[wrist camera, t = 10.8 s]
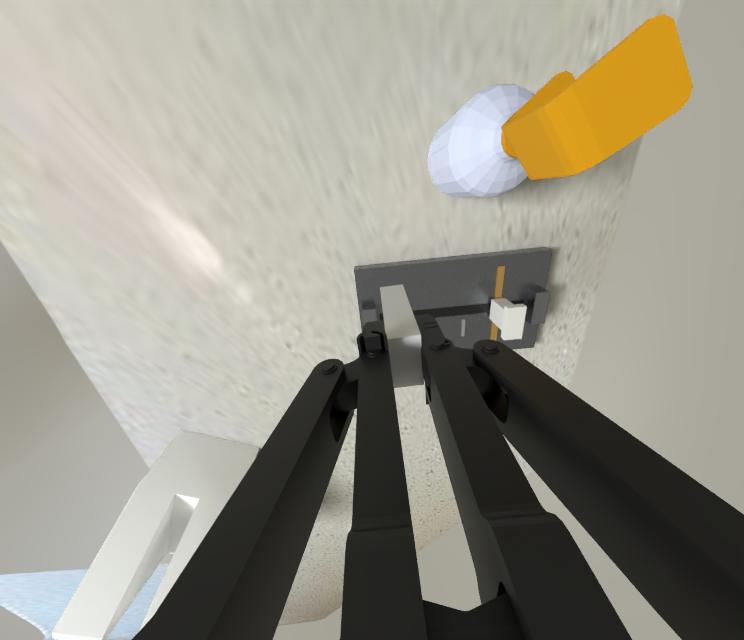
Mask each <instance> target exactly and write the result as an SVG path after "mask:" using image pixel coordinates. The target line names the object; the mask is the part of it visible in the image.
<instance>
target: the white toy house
mask: <svg viewBox="0 0 744 640" xmlns="http://www.w3.org/2000/svg"><path fill="white" fill-rule="evenodd" d="M258 451H259V448H258V447H254V446H250V445H245V444H241V443H237V442H233V441H229V440H225V439H220V438H216V437H212V436H208V435H204V434H200V433H195V432H191V431H187V430H183V429H182V430H181V431H180V432H179V433H178V435H177V436H176V437H175V438H174V440H173V441H172V442H171V444H170V445H169V446H168V447H167V449H166V450H165V451H164V452H163V454H162V455H161V456H160V457H159V459H158V460H157V461H156V462H155V464H154V465H153V466H152V468H151V469H150V470H149V471H148V473H147V474H146V475H145V476H144V478H143V479H142V481H140V483H139V484H138V485H137V487H136V489H135V490H134V492H133V494H132V495H131V497H130V499H129V501H128V502H127V504H126V506H125V507H124V509H123V511H122V513H121V514H120V516H119V518H118V520H117V521H116V523H115V525H114V527H113V528H112V530H111V532H110V533H109V535H108V537H107V538H106V540H105V542H104V544H103V545H102V547H101V549H100V551H99V552H98V554H97V556H96V557H95V559H94V561H93V563H92V564H91V566H90V568H89V569H88V571H87V573H86V575H85V576H84V578H83V580H82V581H81V583H80V585H79V587H78V588H77V590H76V592H75V594H74V595H73V597H72V599H71V600H70V602H69V604H68V606H67V607H66V609H65V611H64V613H63V614H62V616H61V618H60V619H59V621H58V623H57V625H56V626H55V628H54V630H53V632H52V637H53V639H59V640H106V638H107V637H108V635H109V634H110V633H111V631H112V630H113V628H114V627H115V625H116V624H117V623H118V621H119V620H120V618H121V617H122V616H123V614H124V613H125V611H126V610H127V609H128V607H129V606H130V604H131V603H132V602H133V600H134V599H135V597H136V596H137V594H138V593H139V592H140V590H141V589H142V587H143V586H144V585H145V583H146V582H147V580H148V579H149V578H150V576H151V575H152V573H153V572H154V571H155V569H156V568H157V566H158V565H159V564H160V562H161V561H162V559H163V558H164V556H165V555H166V554H167V553H170V554H174V556H173V558H172V560H171V562H170V564H169V566H168V569H167V571H166V573H165V575H164V577H163V580H162V582H161V584H160V586H159V588H158V591H157V593H156V595H155V597H154V599H153V601H152V604H151V606H150V608H149V610H148V612H147V615H146V617H145V619H144V621H143V623H142V626H141V628H140V630H141V629H142V628H143V627H144V626H145V625H146V623H147V622H148V621H149V620H150V619H151V618H152V617H153V616H154V614H155V613H156V611H157V609H158V608H159V606H160V605H161V603H162V602H163V600H164V599H165V597H166V596H167V594H168V593H169V591H170V589H171V588H172V586H173V585H174V583H175V582H176V580H177V579H178V577H179V576H180V574H181V573H182V571H183V569H184V568H185V566H186V565H187V563H188V562H189V560H190V559H191V557H192V556H193V554H194V552H195V551H196V549H197V548H198V546H199V545H200V543H201V542H202V540H203V539H204V537H205V536H206V534H207V532H208V531H209V529H210V528H211V526H212V525H213V523H214V522H215V520H216V519H217V517H218V516H219V514H220V512H221V511H222V509H223V508H224V506H225V505H226V503H227V502H228V500H229V499H230V497H231V496H232V494H233V492H234V491H235V489H236V488H237V486H238V485H239V483H240V482H241V480H242V479H243V477H244V476H245V474H246V472H247V471H248V469H249V468H250V466H251V465H252V463H253V462H254V460H255V459H256V457H257V454H258ZM140 630H139V631H140Z"/></svg>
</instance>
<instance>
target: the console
mask: <svg viewBox="0 0 744 640" xmlns="http://www.w3.org/2000/svg"><path fill="white" fill-rule="evenodd" d="M551 255H552V249H548V248H545V247H540V248H531V249H521V250H511V251H501V252H491V253H481V254H472V255H462V256H452V257H442V258H432V259H423V260H413V261H403V262H393V263H383V264H373V265H364V266H355V267H354V273H355V281H356V289H357V296H358V304H359V312H360V320H361V328H362V331H363V326H364V325H365V324H366V322H373V321H381V320H384V317H383V309H382V301H381V293H380V287H386V286H394V285H401V284H403V287H404V289H405V292H406V295H407V298H408V300H409V303H410V306H411V309H412V311H413V314H414V316H415V315H423V314H430V315H432V316H433V317H435V319H436V321H437V323H438V325H439V327H440V329H441V331H442V333H443V334H444V336H445V338H447V339H449V340H451V341H452V342H453V344H454V346H455V347H459V348H466V349H473V345H474V344H475V342H477V341H480V340H486V339H490V340H495V341H499V342H501V343H503V344H505V345H506V346H507V347H509V348H510V349H522V348H533V347H534V344H535V339H536V334H537V328H538V324H541V323H544V322H545V317H546V312H547V307H548V302H549V297H550V291H548V290H546V289H545V286H546V281H547V276H548V270H549V265H550V260H551ZM499 298H506V299H507V300H508V301H510V302H511V303H512V304H524V305H526V306H527V309H526V315H525V321H524V327H523V334H522V339H514V340H503V339H502V338H501V330H500V329H499V328H498V327H497V326H496V325H495V324H494V323H493V322H492V321H491V320H490V319H489V318H490V308H491V299H499Z"/></svg>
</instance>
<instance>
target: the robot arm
mask: <svg viewBox="0 0 744 640" xmlns="http://www.w3.org/2000/svg"><path fill="white" fill-rule="evenodd" d="M380 293H381V301H382V309H383V317H384V320H381V321H373V322H366V324H365V325H364V326H363V331H362V333H361V334H359V335H358V337H357V344H358V350H359V358H358V359H356V360H355V361H353V362H350V363H348V364H345V365H344V364H343V362H342V361H340V360H338V359H328V360H325V361H322V362H321V363H319V364H318V365H317V366H316V367H315V368H314V369H313V371H312V372H311V374H310V375H309V377H308V379H307V380H306V382H305V383H304V385H303V386H302V388H301V389H300V391H299V392H298V394H297V395H296V397H295V399H294V400H293V402H292V403H291V405H290V406H289V408H288V409H287V411H286V412H285V414H284V416H283V417H282V419H281V420H280V422H279V423H278V425H277V426H276V428H275V429H274V431H273V432H272V434H271V436H270V437H269V439H268V440H267V442H266V443H265V445H264V446H263V448H262V449H261V451H260V452H259V454H258V456H257V457H256V459H255V460H254V462H253V463H252V465H251V466H250V468H249V469H248V471H247V472H246V474H245V476H244V477H243V479H242V480H241V482H240V483H239V485H238V486H237V488H236V489H235V491H234V492H233V494H232V496H231V497H230V499H229V500H228V502H227V503H226V505H225V506H224V508H223V509H222V511H221V512H220V514H219V516H218V517H217V519H216V520H215V522H214V523H213V525H212V526H211V528H210V529H209V531H208V532H207V534H206V536H205V537H204V539H203V540H202V542H201V543H200V545H199V546H198V548H197V549H196V551H195V552H194V554H193V556H192V557H191V559H190V560H189V562H188V563H187V565H186V566H185V568H184V569H183V571H182V573H181V574H180V576H179V577H178V579H177V580H176V582H175V583H174V585H173V586H172V588H171V589H170V591H169V593H168V594H167V596H166V597H165V599H164V600H163V602H162V603H161V605H160V606H159V608H158V609H157V611H156V613H155V614H154V616H153V617H152V618H151V619H150V620H149V621H148V622H147V623H146V625H145V626H144V627H143V628H142V629H141V630H140V631H139V632H138V633H137V635H136V636H135V637H134V638H133V639H132V640H273V637H274V634H275V631H276V628H277V626H278V623H279V620H280V617H281V615H282V612H283V609H284V606H285V603H286V601H287V598H288V595H289V592H290V590H291V587H292V584H293V581H294V578H295V576H296V573H297V570H298V567H299V564H300V562H301V559H302V556H303V553H304V551H305V548H306V545H307V542H308V539H309V537H310V534H311V531H312V528H313V526H314V523H315V520H316V517H317V514H318V512H319V509H320V506H321V503H322V500H323V498H324V495H325V492H326V489H327V487H328V484H329V481H330V478H331V475H332V473H333V470H334V467H335V464H336V462H337V459H338V456H339V453H340V450H341V448H342V445H343V442H344V439H345V437H346V434H347V431H348V428H349V425H350V423H351V420H352V417H353V414H354V409H356V408H357V423H356V446H355V469H354V493H353V516H352V527H351V530H350V532H349V533H348V536H347V541H346V551H345V568H344V585H343V602H342V619H341V636H340V637H341V638H340V640H632V639H631V637H630V635H629V634H628V632H627V630H626V628H625V627H624V625H623V623H622V621H621V620H620V618H619V616H618V615H617V613H616V611H615V609H614V608H613V606H612V604H611V603H610V601H609V599H608V597H607V596H606V594H605V592H604V591H603V589H602V587H601V585H600V584H599V582H598V580H597V579H596V577H595V575H594V573H593V572H592V570H591V568H590V566H589V565H588V563H587V561H586V560H585V558H584V556H583V555H582V553H581V551H580V549H579V548H578V546H577V544H576V542H575V541H574V539H573V537H572V536H571V534H570V532H569V531H568V529H567V528H566V527H565V525H564V523H563V522H562V521H561V520H560V519H559V518H558V517H557V516H556V515H555V514H552V513H549V512H546V511H545V510H544V508H543V507H542V506H541V504H540V502H539V501H538V499H537V497H536V495H535V493H534V492H533V490H532V488H531V486H530V484H529V482H528V480H527V478H526V477H525V475H524V473H523V471H522V469H521V467H520V466H519V464H518V462H517V460H516V458H515V456H514V454H513V453H512V451H511V449H510V447H509V445H508V443H507V442H506V440H505V438H504V436H505V437H506V439H507V440H508V441H509V442H510V443H511V444H512V445H513V447H514V448H515V449H516V450H517V451H518V452H519V454H520V455H521V456H522V457H523V458H524V459H525V460H526V462H527V463H528V464H529V465H530V466H531V467H532V469H533V470H534V471H535V472H536V473H537V474H538V476H540V478H541V479H542V480H543V481H544V482H545V483H546V485H547V486H548V487H549V488H550V489H551V490H552V492H553V493H554V494H555V495H556V496H557V497H558V499H559V500H560V501H561V502H562V503H563V504H564V506H565V507H566V508H567V509H568V510H569V511H570V512H571V514H572V515H573V516H574V517H575V518H576V519H577V521H578V522H579V523H580V524H581V525H582V526H583V527H584V529H585V530H586V531H587V532H588V533H589V534H590V536H591V537H592V538H593V539H594V540H595V541H596V542H597V544H598V545H599V546H600V547H601V548H602V549H603V550H604V552H605V553H606V554H607V555H608V556H609V557H610V559H611V560H612V561H613V562H614V563H615V564H616V566H617V567H618V568H619V569H620V570H621V571H622V572H623V574H624V575H625V576H626V577H627V578H628V579H629V581H630V582H631V583H632V584H633V585H634V586H635V588H636V589H637V590H638V591H639V592H640V593H641V594H642V596H643V597H644V598H645V599H646V600H647V601H648V602H649V604H650V605H651V606H652V607H653V608H654V609H655V610H656V612H657V613H658V614H659V615H660V616H661V617H662V618H663V619H664V620H665V622H666V623H667V624H668V625H669V626H670V627H671V628H672V629H673V630H674V631H675V633H676V634H677V635H678V636H679V637H680V638H681V639H682V640H744V515H743V514H742V513H741V512H739V511H738V510H736V509H735V508H734V507H732V506H731V505H729V504H728V503H727V502H725V501H724V500H722V499H721V498H719V497H718V496H717V495H715V494H714V493H713V492H711V491H710V490H708V489H707V488H705V487H704V486H703V485H701V484H700V483H698V482H697V481H696V480H694V479H693V478H691V477H690V476H689V475H687V474H686V473H684V472H683V471H682V470H680V469H679V468H677V467H676V466H675V465H673V464H672V463H670V462H669V461H668V460H666V459H665V458H663V457H662V456H661V455H659V454H658V453H656V452H655V451H654V450H652V449H651V448H649V447H648V446H647V445H645V444H644V443H642V442H641V441H639V440H638V439H636V438H635V437H634V436H632V435H631V434H630V433H628V432H627V431H625V430H624V429H623V428H621V427H620V426H618V425H617V424H616V423H614V422H613V421H611V420H610V419H609V418H607V417H606V416H604V415H603V414H601V413H600V412H599V411H597V410H596V409H594V408H593V407H591V406H590V405H589V404H587V403H586V402H585V401H583V400H582V399H580V398H579V397H578V396H576V395H575V394H573V393H572V392H570V391H569V390H568V389H566V388H565V387H564V386H562V385H561V384H559V383H558V382H557V381H555V380H554V379H552V378H551V377H550V376H548V375H547V374H545V373H544V372H542V371H541V370H540V369H538V368H537V367H535V366H534V365H533V364H531V363H530V362H528V361H527V360H526V359H524V358H523V357H521V356H520V355H519V354H517V353H516V352H514V351H513V350H512V349H510V348H509V347H507V346H506V345H505V344H503V343H501V342H499V341H495V340H490V339H486V340H480V341H477V342H475V344H474V345H473V349H466V348H459V347H455V346H454V344H453V342H452V341H451V340H449V339H447V338H445V336H444V334H443V333H442V331H441V329H440V327H439V325H438V323H437V321H436V319H435V317H433V316H432V315H430V314H423V315H415V316H414V314H413V311H412V309H411V306H410V303H409V300H408V298H407V295H406V292H405V289H404V287H403V284H401V285H394V286H386V287H380ZM423 377H424V378H423ZM424 381H425V389H426V404H429V406H430V409H431V413H432V416H433V420H434V424H435V427H436V431H437V434H438V438H439V442H440V445H441V449H442V452H443V456H444V459H445V463H446V467H447V470H448V474H449V477H450V481H451V485H452V488H453V492H454V495H455V499H456V502H457V506H458V510H459V513H460V517H461V520H462V524H463V527H464V531H465V535H466V538H467V541H468V545H469V549H470V552H471V556H472V560H473V563H474V567H475V571H476V576H477V582H478V589H479V595H480V599H481V604H482V605H480V606H478V607H476V608H474V609H472V610H470V611H461V610H457V609H453V608H450V607H446V606H443V605H439V604H436V603H432V602H429V601H425V600H422V594H421V586H420V580H419V571H418V564H417V557H416V549H415V542H414V535H413V527H412V521H411V513H410V506H409V498H408V491H407V484H406V476H405V469H404V461H403V454H402V446H401V439H400V431H399V424H398V417H397V409H396V402H395V394H394V388H397V387H406V386H415V385H423V384H424ZM503 435H504V436H503Z"/></svg>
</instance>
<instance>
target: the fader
mask: <svg viewBox="0 0 744 640" xmlns="http://www.w3.org/2000/svg"><path fill="white" fill-rule="evenodd" d="M526 309H527V306H526V305H524V304H512V303H511V302H510V301H508V300H507V299H506V298H499V299H491V308H490V318H489V319H490V320H491V321H492V322H493V323H494V324H495V325H496V326H497V327H498V328H499V329H500V330H501V338H502V339H503V340H514V339H522V334H523V327H524V321H525V315H526Z"/></svg>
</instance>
